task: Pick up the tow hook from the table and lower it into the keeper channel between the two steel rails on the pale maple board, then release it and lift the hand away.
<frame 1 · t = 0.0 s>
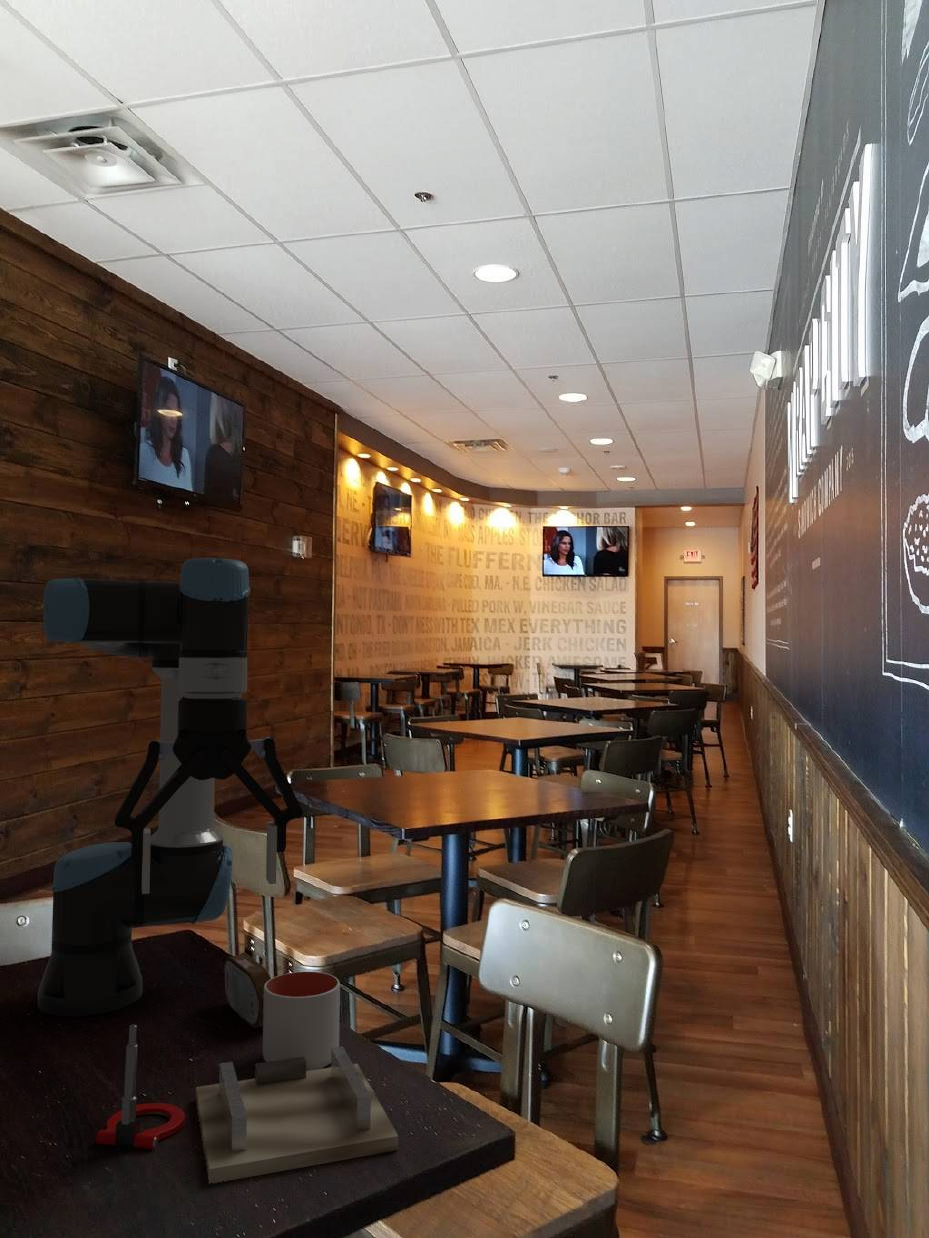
hand: (209, 886, 104), 28 cm above the table, tool pointing down, fingers open, 13 cm apart
keeper board: (291, 1123, 107), on the table
tow hook: (144, 1130, 106), on the table
cup: (300, 1061, 124), on the table
tin: (247, 1019, 138), on the table
keeper rails: (290, 1090, 108), on the keeper board, point 3 cm above the table
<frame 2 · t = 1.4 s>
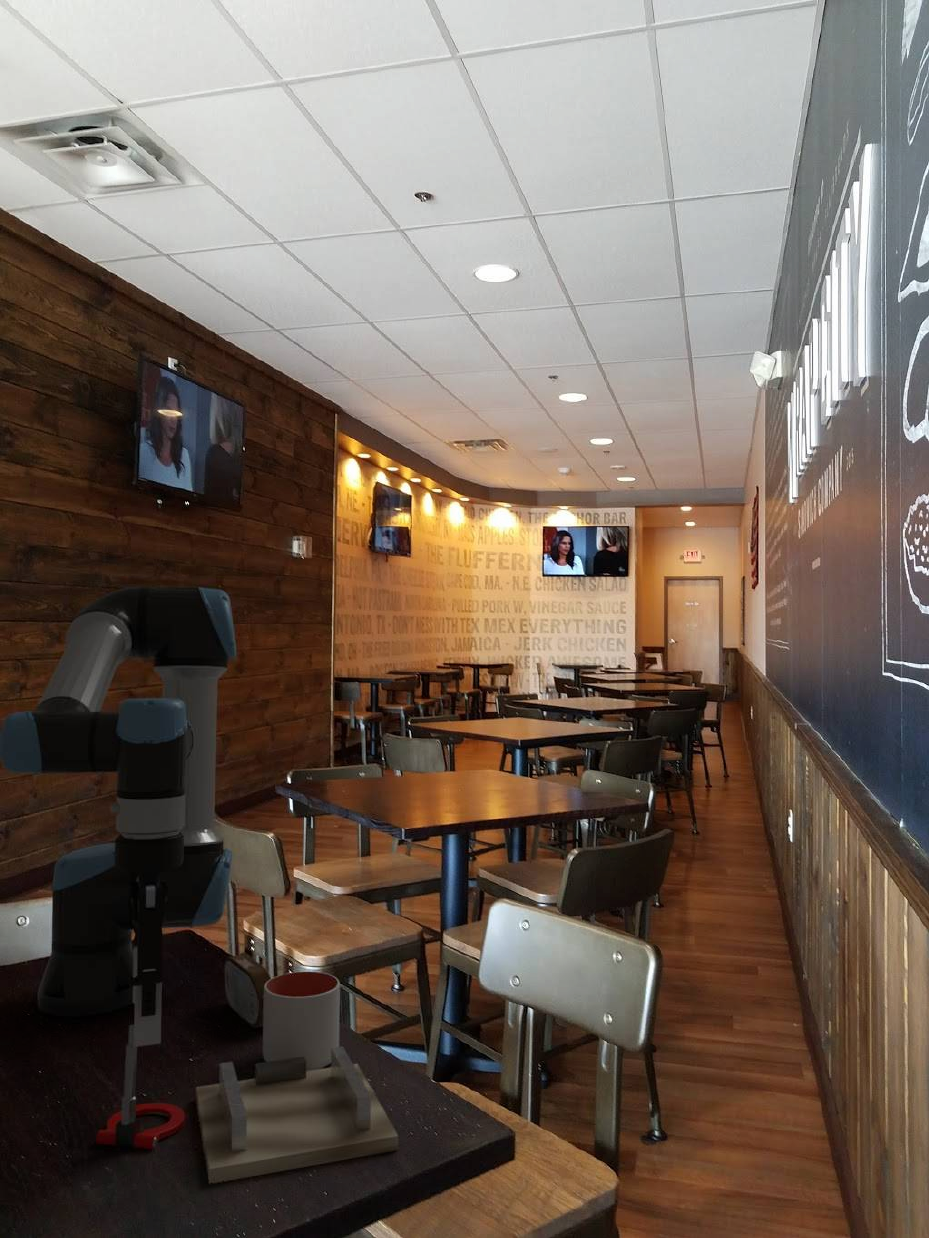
hand: (145, 1021, 106), 12 cm above the table, tool pointing down, fingers open, 13 cm apart
nothing on the table moved.
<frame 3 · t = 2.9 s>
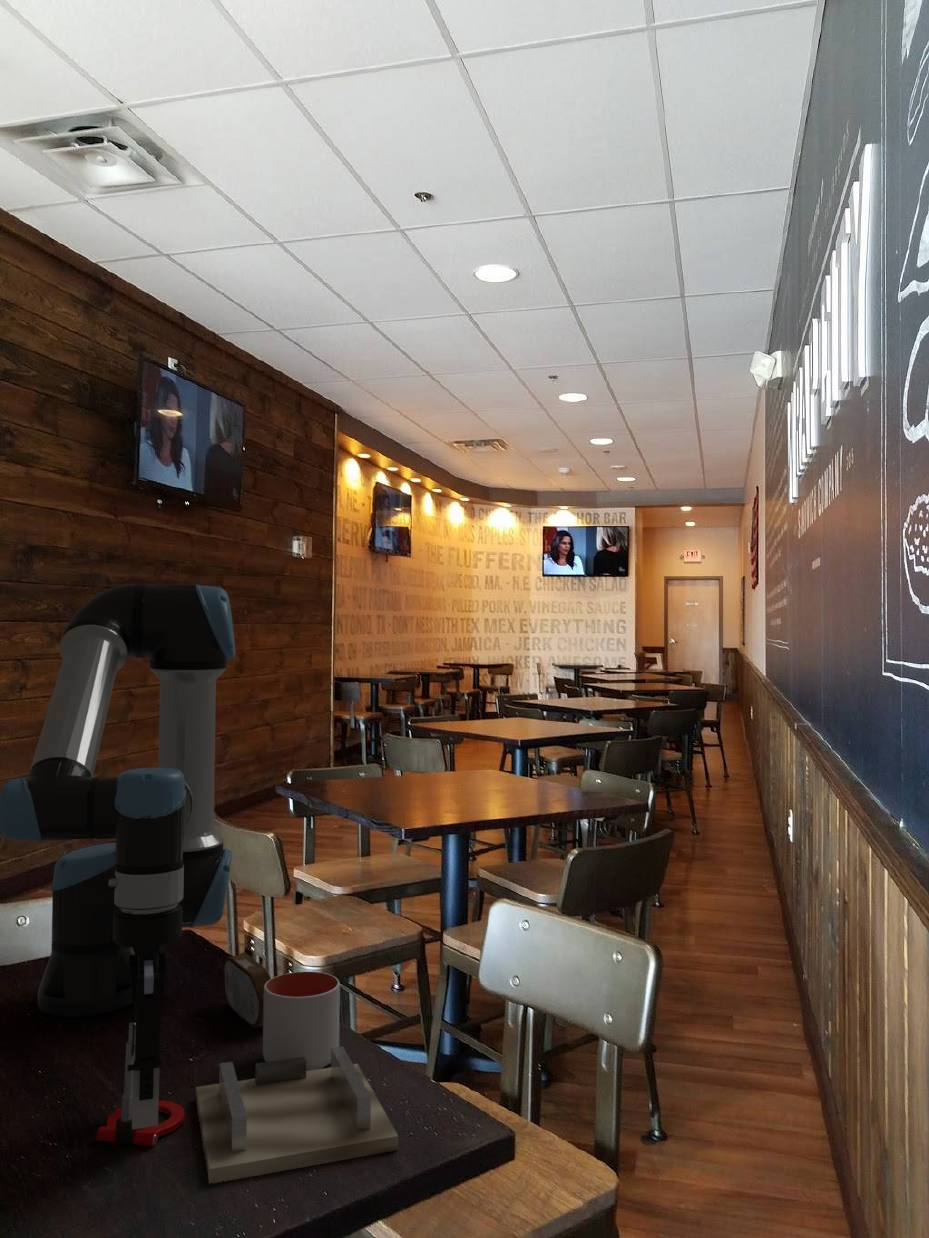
hand: (144, 1108, 106), 2 cm above the table, tool pointing down, fingers open, 7 cm apart
tow hook: (144, 1128, 107), on the table, touching gripper
everything else where it was.
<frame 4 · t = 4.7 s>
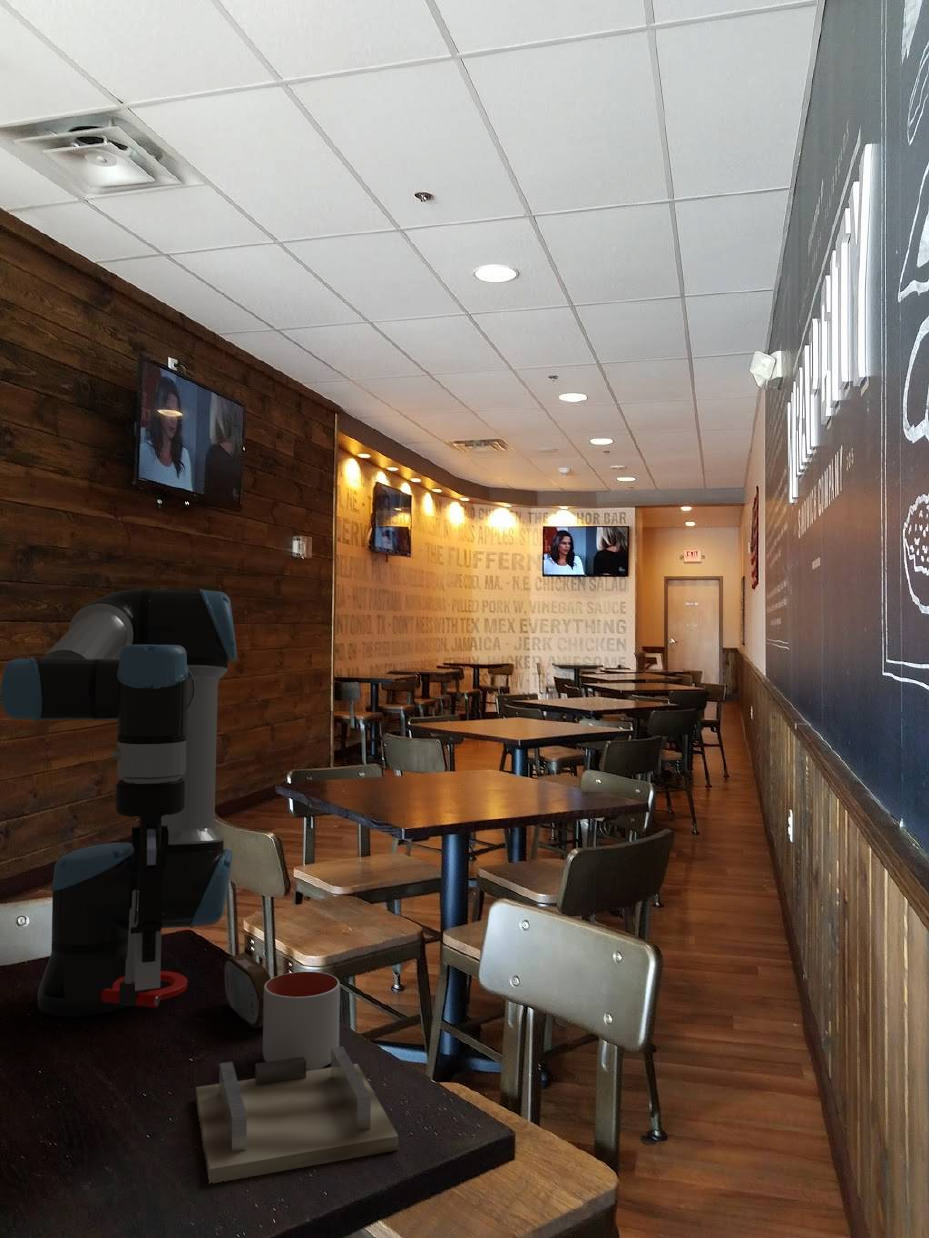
hand: (147, 983, 107), 16 cm above the table, tool pointing down, fingers closed on tow hook, 2 cm apart
tow hook: (148, 993, 110), point 14 cm above the table, touching gripper
everything else where it was.
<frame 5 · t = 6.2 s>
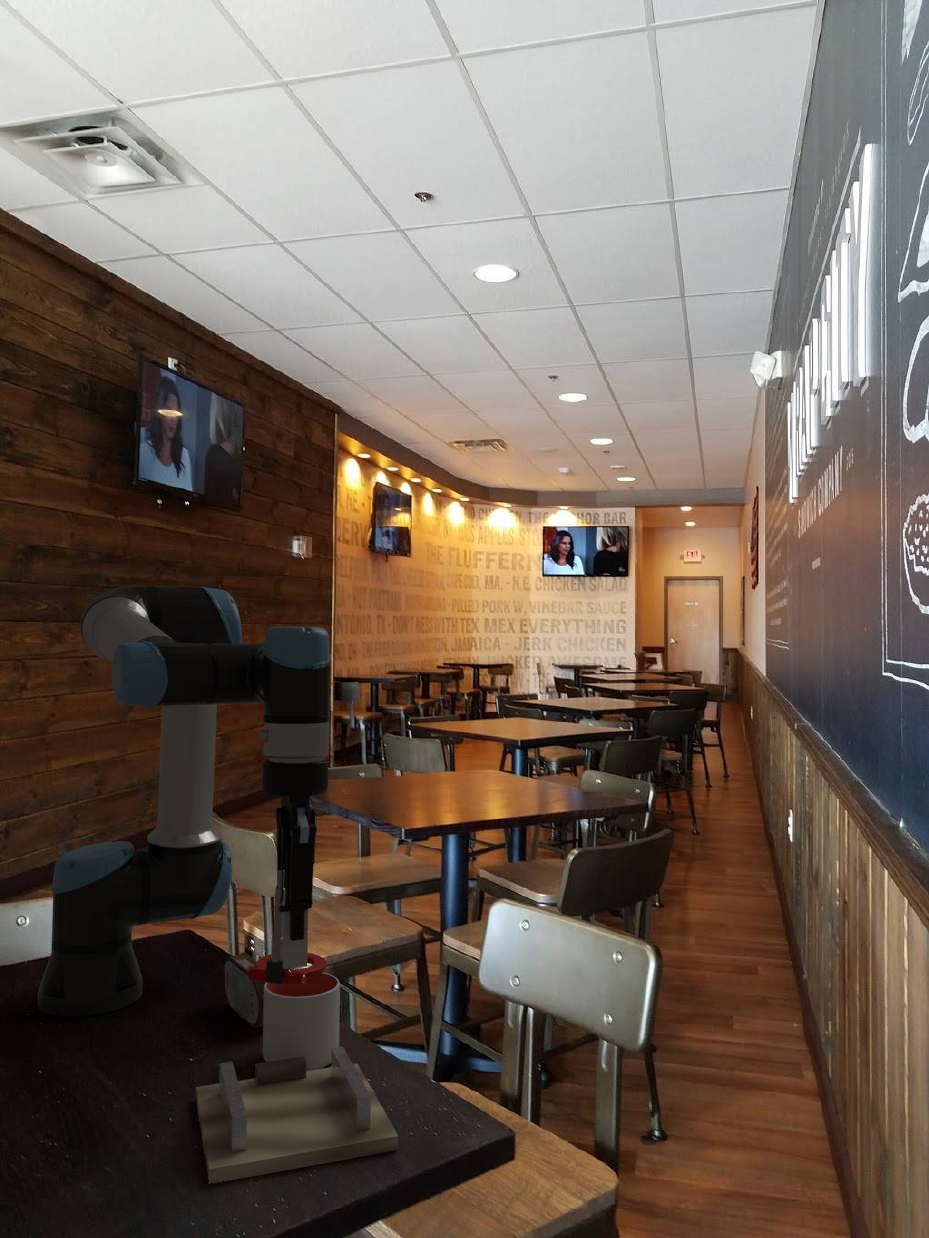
hand: (293, 962, 108), 18 cm above the table, tool pointing down, fingers closed on tow hook, 2 cm apart
tow hook: (289, 973, 111), point 16 cm above the table, touching gripper
everything else where it was.
when the fingers open (5 cm above the table, at t = 8.7 s): tow hook stays where it is, resting on keeper board, keeper rails.
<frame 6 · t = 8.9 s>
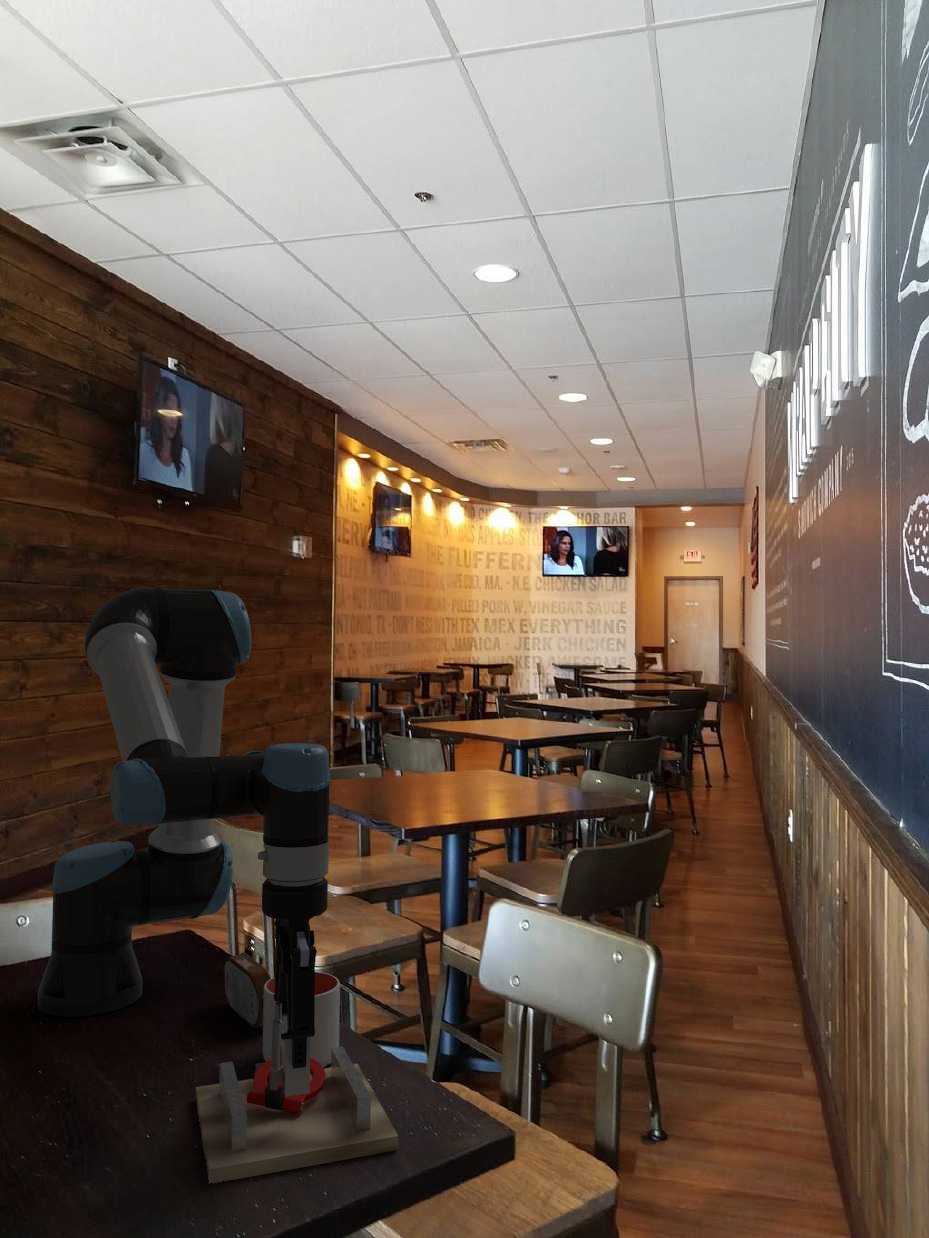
hand: (292, 1080, 108), 5 cm above the table, tool pointing down, fingers open, 5 cm apart
tow hook: (288, 1086, 111), point 3 cm above the table, touching keeper board, keeper rails
everything else where it was.
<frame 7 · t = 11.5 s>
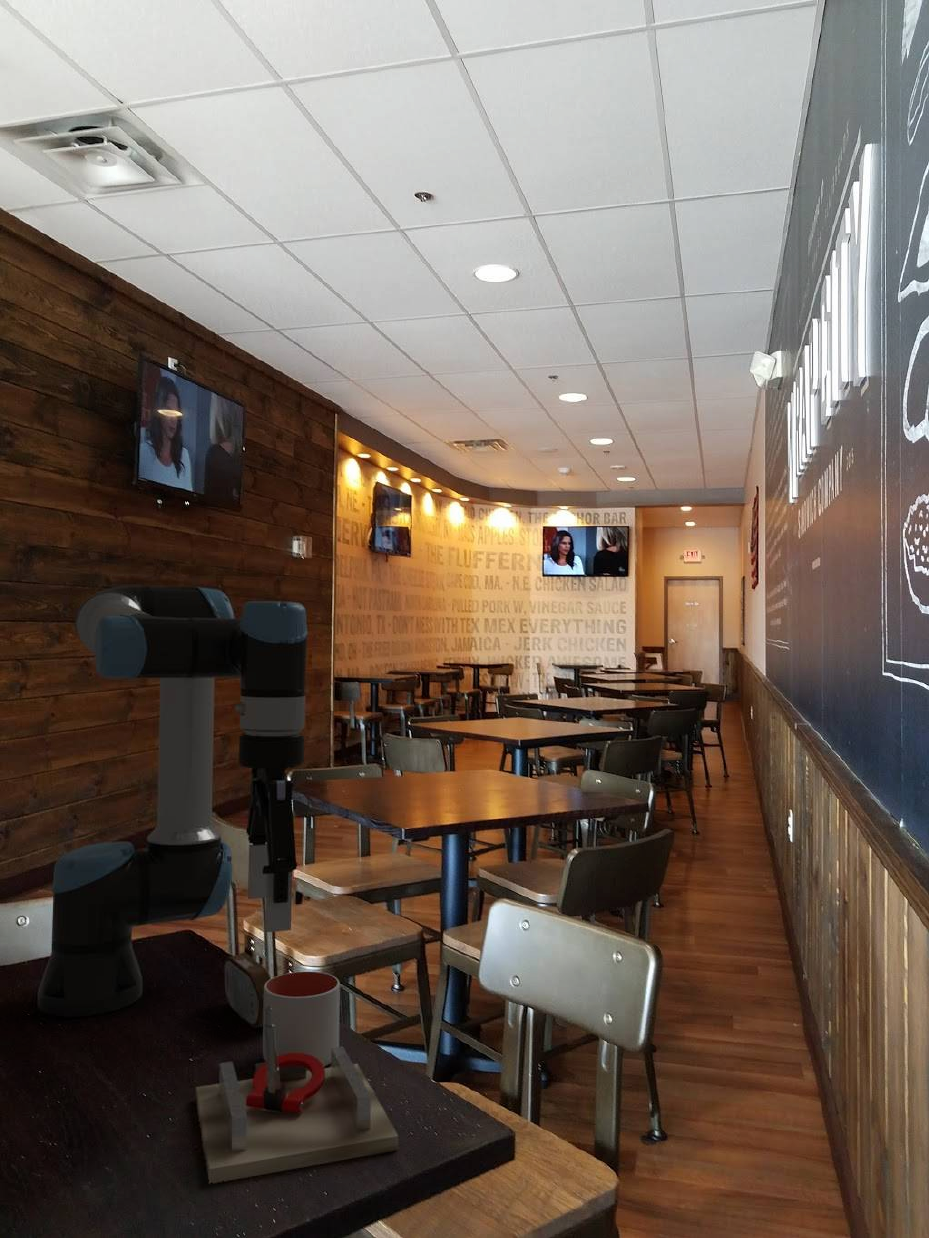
hand: (268, 913, 110), 24 cm above the table, tool pointing down, fingers open, 13 cm apart
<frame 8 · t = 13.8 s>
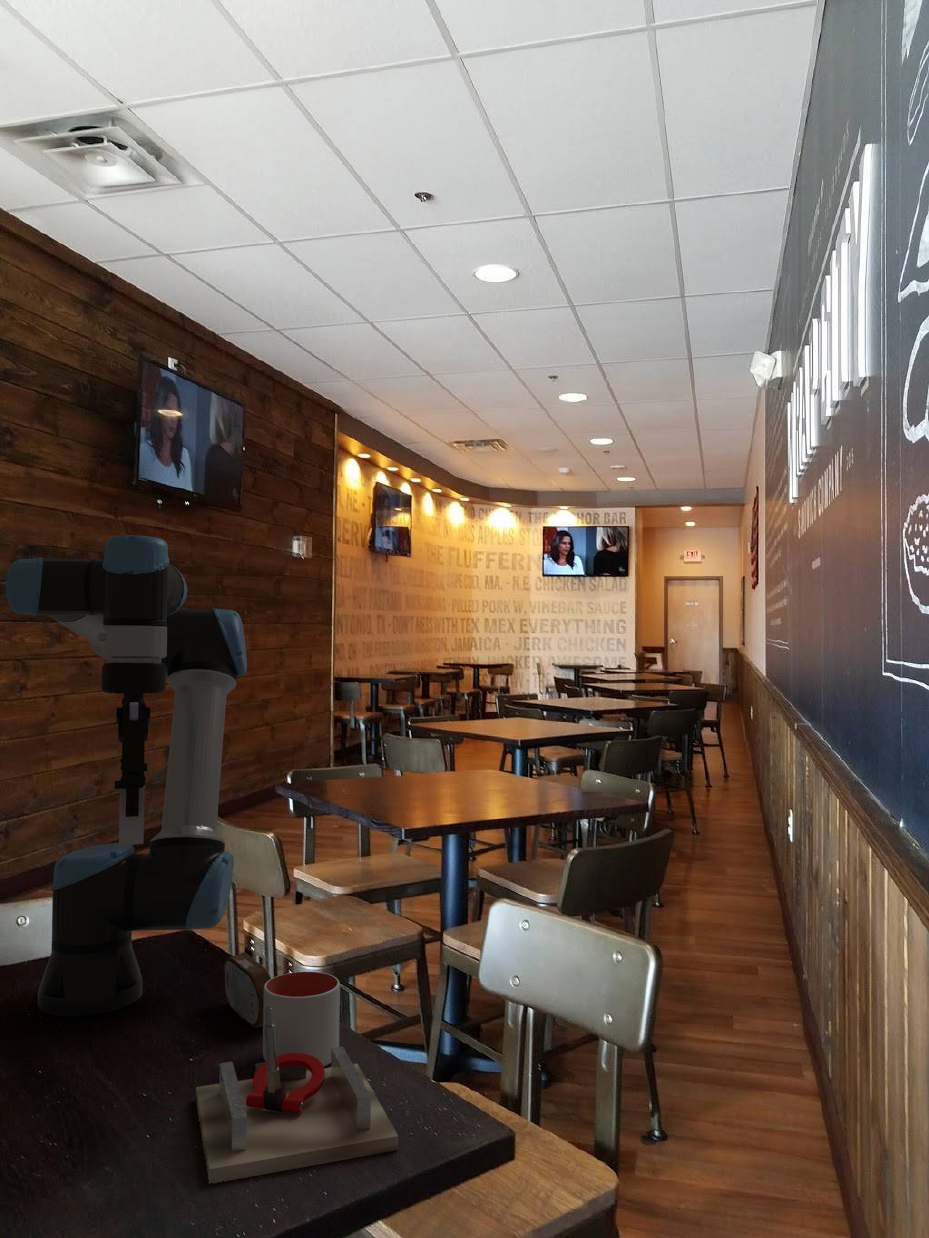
hand: (130, 833, 115), 32 cm above the table, tool pointing down, fingers open, 13 cm apart
nothing on the table moved.
at the end: tow hook inside the target area on the keeper board (3.7 cm from its centre), point 2.6 cm above the keeper board's base; the gripper is holding nothing; cup moved 0.3 cm from its start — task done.
